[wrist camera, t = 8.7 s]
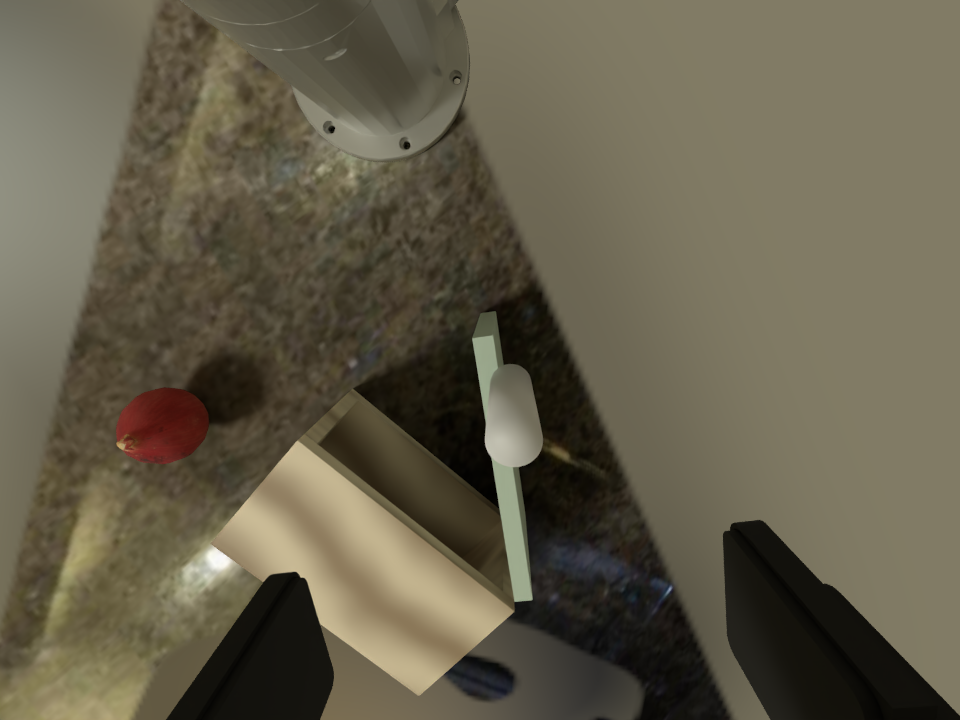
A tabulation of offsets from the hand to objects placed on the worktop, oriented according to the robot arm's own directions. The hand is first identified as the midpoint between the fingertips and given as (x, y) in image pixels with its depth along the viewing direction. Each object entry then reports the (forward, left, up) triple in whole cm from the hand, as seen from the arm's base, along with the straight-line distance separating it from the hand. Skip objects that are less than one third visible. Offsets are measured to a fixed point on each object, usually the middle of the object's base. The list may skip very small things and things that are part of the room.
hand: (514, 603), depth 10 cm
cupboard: (+16, +2, -27) cm, 32 cm away
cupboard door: (+4, +5, -27) cm, 28 cm away
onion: (+22, -16, -28) cm, 39 cm away
